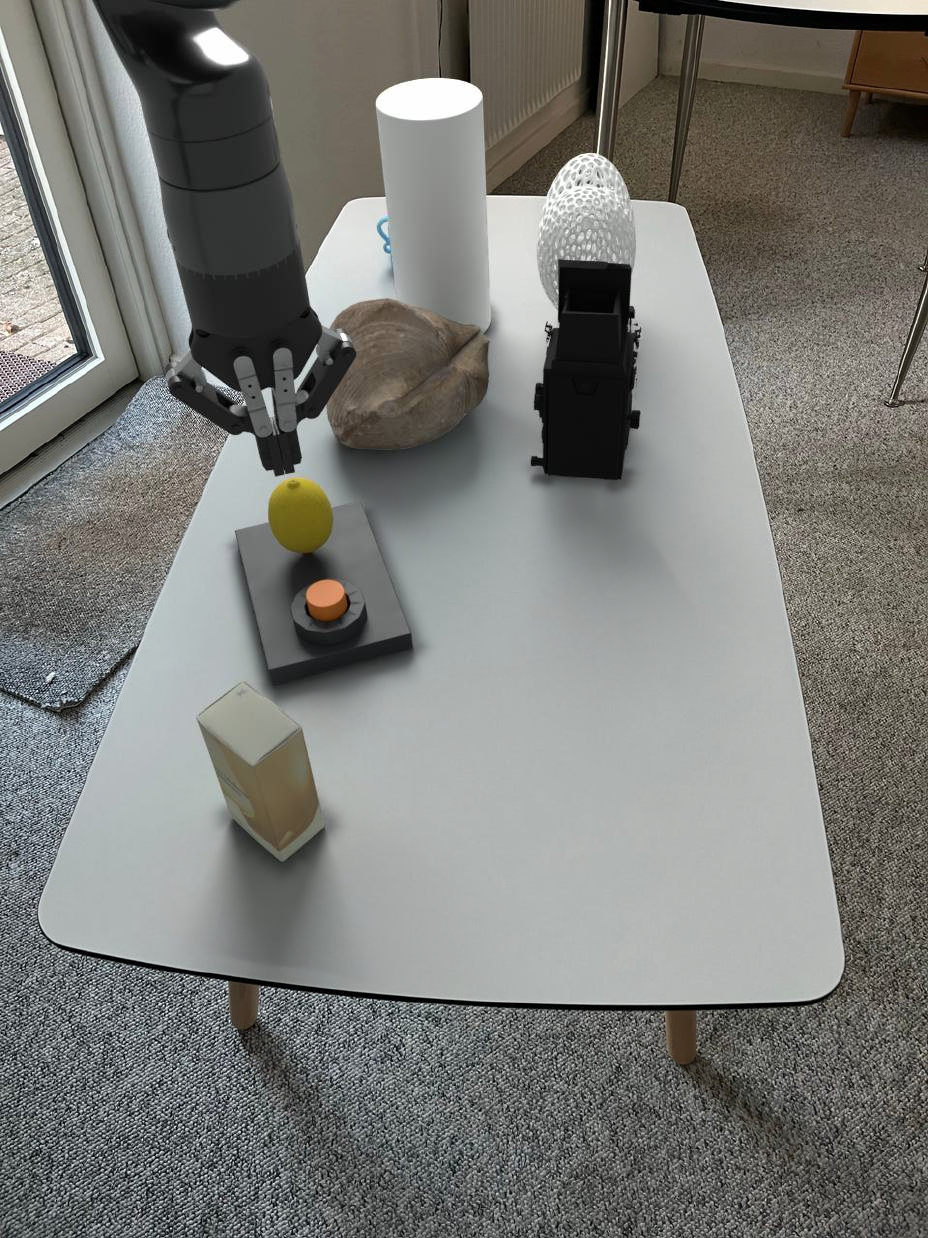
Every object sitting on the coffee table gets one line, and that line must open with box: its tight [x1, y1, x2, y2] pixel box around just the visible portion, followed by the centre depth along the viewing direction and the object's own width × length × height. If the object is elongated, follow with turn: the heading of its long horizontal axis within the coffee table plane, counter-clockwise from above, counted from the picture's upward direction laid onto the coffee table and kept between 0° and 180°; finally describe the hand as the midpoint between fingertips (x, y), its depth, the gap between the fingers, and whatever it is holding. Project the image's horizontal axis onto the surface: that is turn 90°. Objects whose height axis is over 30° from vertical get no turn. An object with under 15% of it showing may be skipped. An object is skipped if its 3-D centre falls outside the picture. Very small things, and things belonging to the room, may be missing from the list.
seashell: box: [326, 297, 490, 451], centre depth 108 cm, size 16×17×15 cm
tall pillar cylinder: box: [375, 77, 492, 334], centre depth 115 cm, size 11×11×25 cm
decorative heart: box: [536, 152, 637, 311], centre depth 117 cm, size 18×11×17 cm, turn 175°
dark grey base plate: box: [234, 500, 414, 686], centre depth 93 cm, size 12×18×4 cm, turn 17°
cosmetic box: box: [195, 680, 326, 863], centre depth 74 cm, size 6×4×12 cm
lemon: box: [267, 477, 333, 553], centre depth 93 cm, size 6×6×8 cm
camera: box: [530, 259, 643, 481], centre depth 100 cm, size 10×14×20 cm
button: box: [306, 580, 347, 621], centre depth 88 cm, size 3×3×2 cm
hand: (283, 467), depth 77 cm, fingers closed
